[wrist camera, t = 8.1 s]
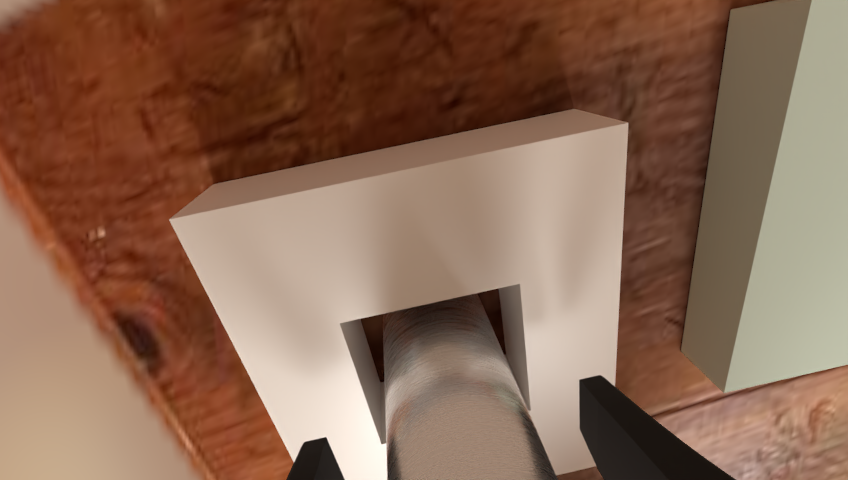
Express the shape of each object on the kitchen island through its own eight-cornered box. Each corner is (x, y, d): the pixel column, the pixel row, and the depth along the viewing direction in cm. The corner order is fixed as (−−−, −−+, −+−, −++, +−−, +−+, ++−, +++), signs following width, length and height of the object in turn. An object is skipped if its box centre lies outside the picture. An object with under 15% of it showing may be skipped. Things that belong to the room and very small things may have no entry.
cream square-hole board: (577, 404, 19) (611, 462, 16) (334, 460, 19) (328, 528, 16) (574, 108, 13) (628, 122, 10) (213, 184, 13) (169, 219, 10)
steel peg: (485, 343, 17) (588, 614, 9) (392, 361, 17) (410, 654, 8) (476, 262, 15) (596, 507, 7) (373, 282, 15) (371, 557, 7)
